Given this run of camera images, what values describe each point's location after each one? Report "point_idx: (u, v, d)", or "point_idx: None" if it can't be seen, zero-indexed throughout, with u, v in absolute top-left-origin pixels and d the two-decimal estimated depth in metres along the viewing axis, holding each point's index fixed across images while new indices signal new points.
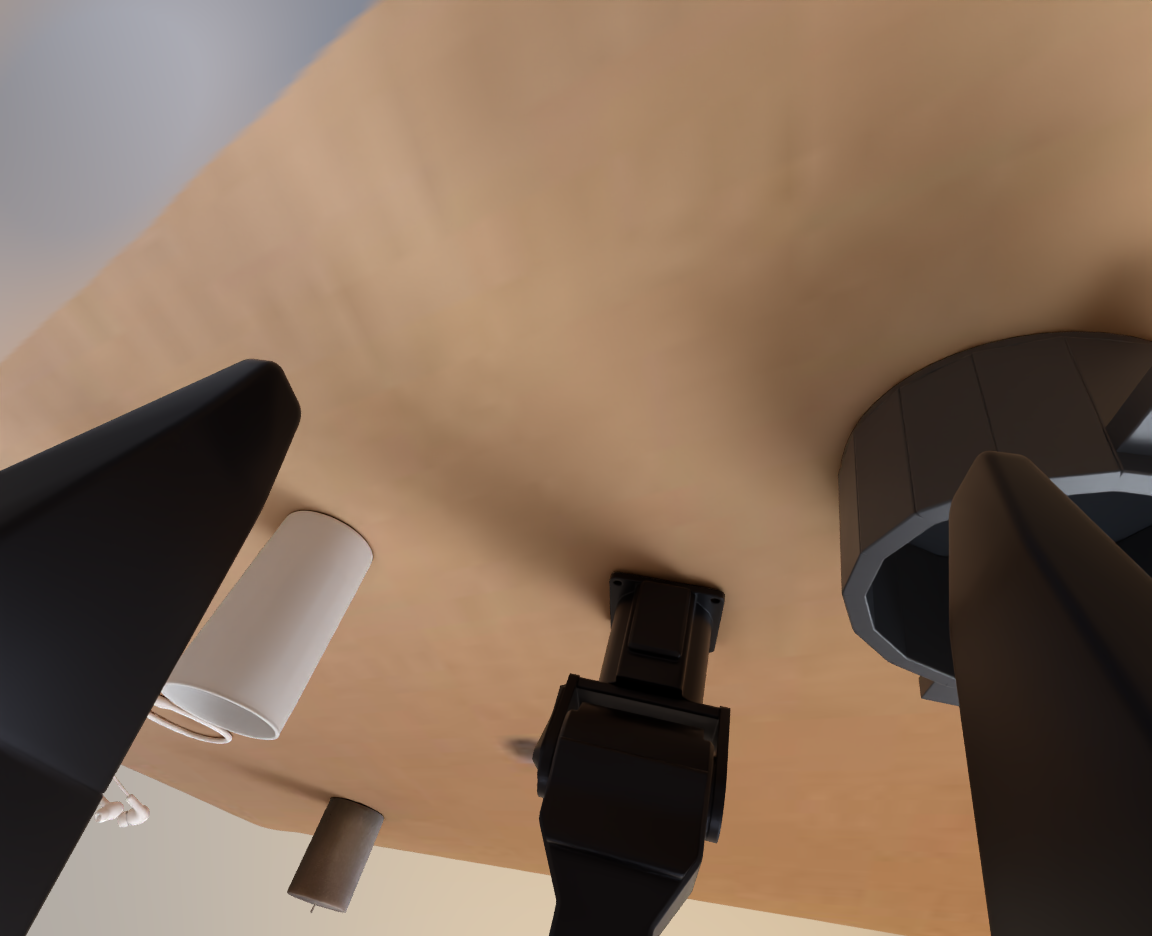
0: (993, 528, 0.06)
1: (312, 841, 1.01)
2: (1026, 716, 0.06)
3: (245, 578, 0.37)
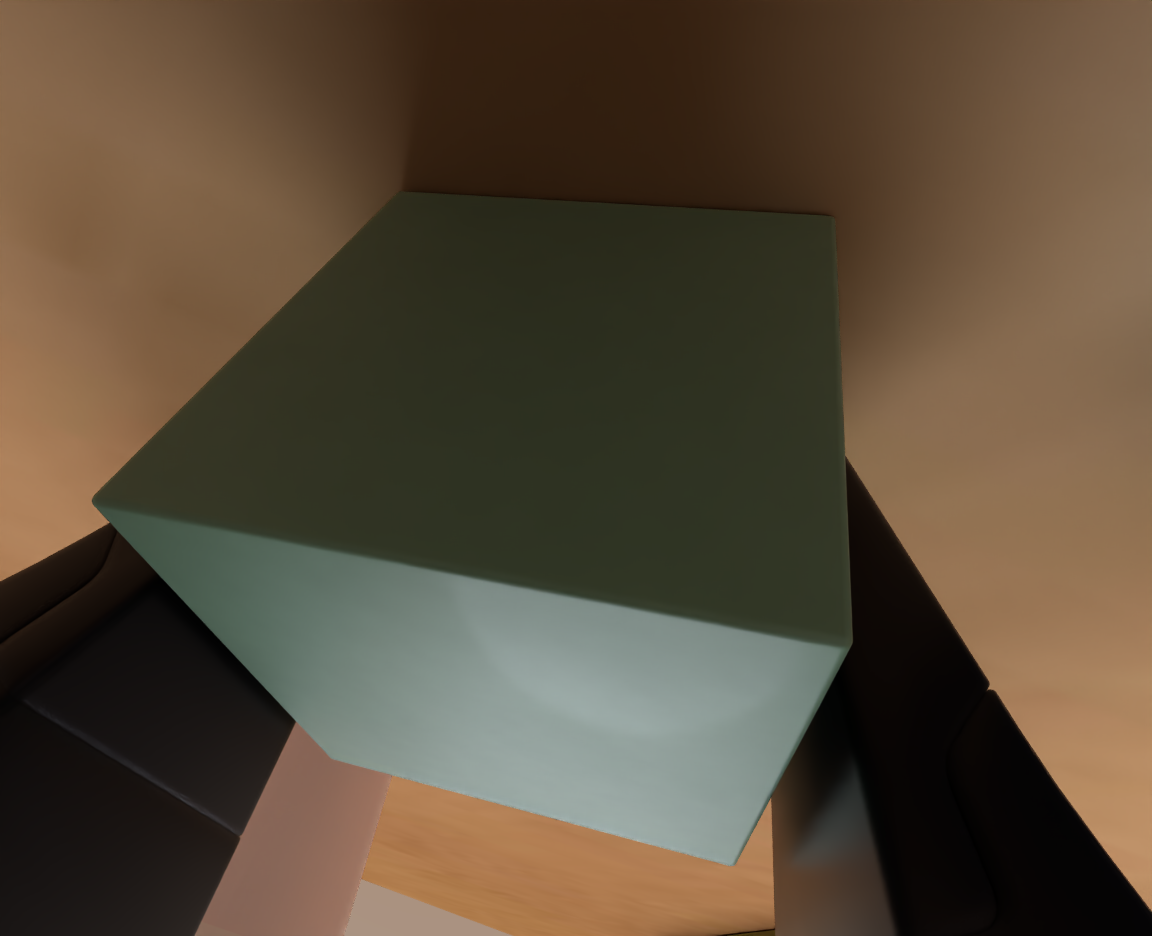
0: None
1: None
2: None
3: None
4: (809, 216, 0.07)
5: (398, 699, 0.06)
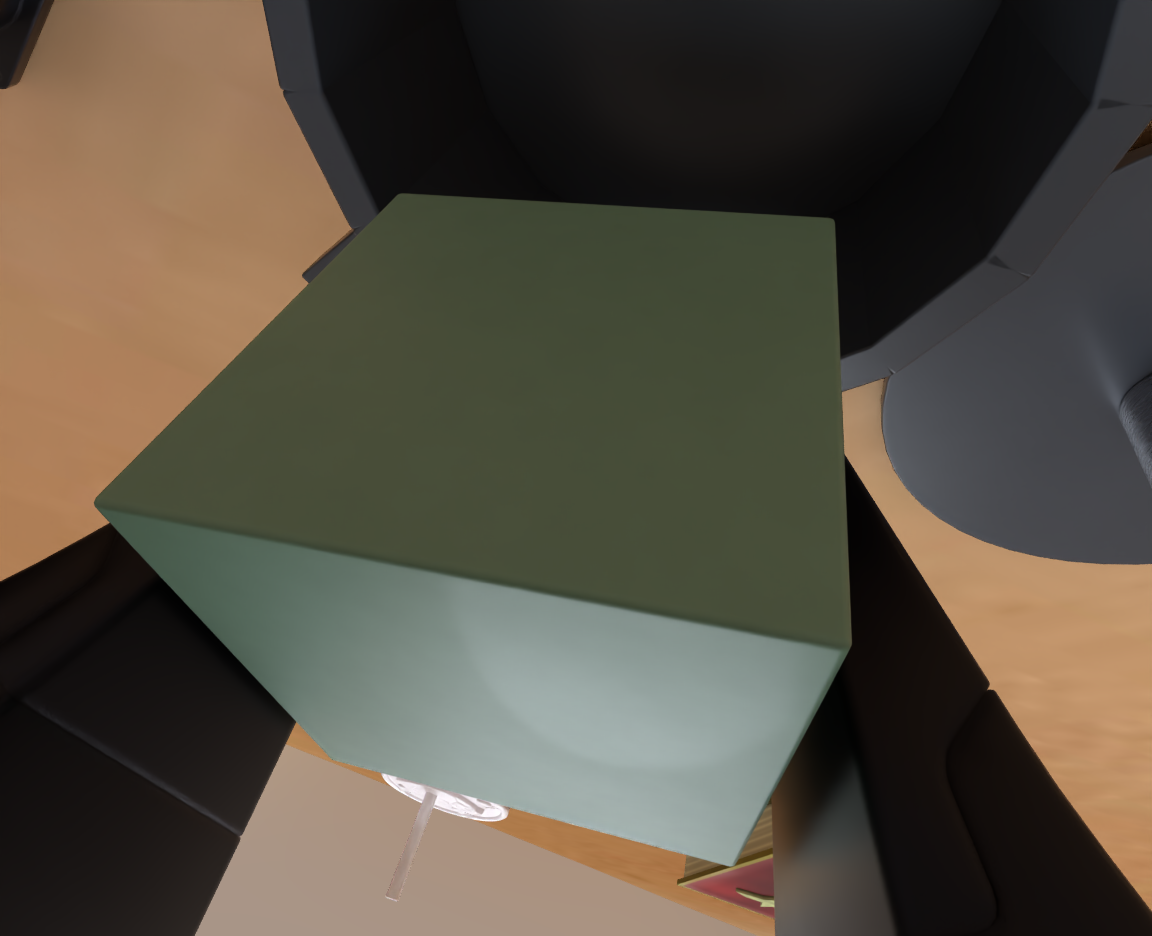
0: None
1: None
2: None
3: None
4: (808, 218, 0.07)
5: (398, 699, 0.06)
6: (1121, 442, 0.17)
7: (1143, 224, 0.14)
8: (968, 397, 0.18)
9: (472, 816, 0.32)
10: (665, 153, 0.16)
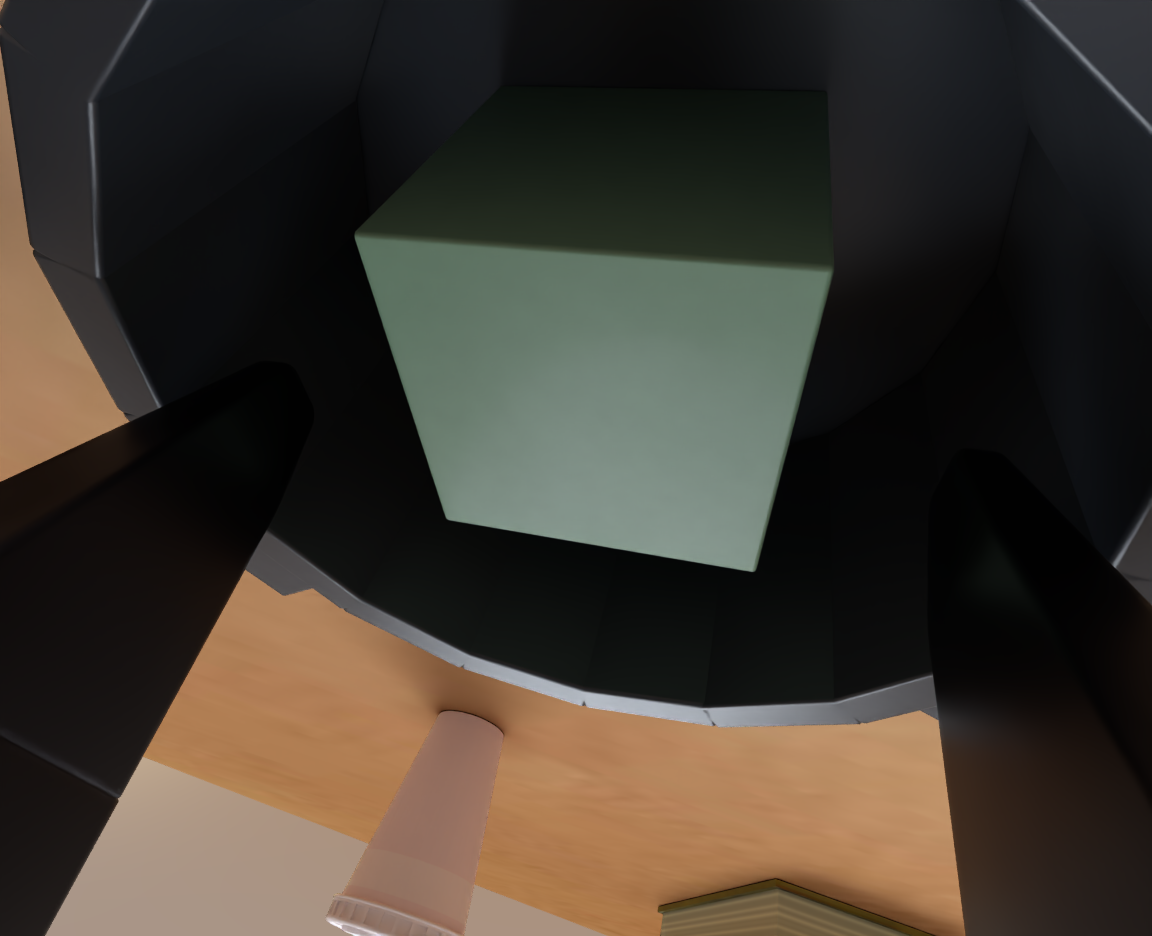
0: (968, 524, 0.06)
1: None
2: (997, 710, 0.06)
3: None
4: (808, 92, 0.09)
5: (524, 413, 0.08)
6: None
7: None
8: None
9: None
10: None
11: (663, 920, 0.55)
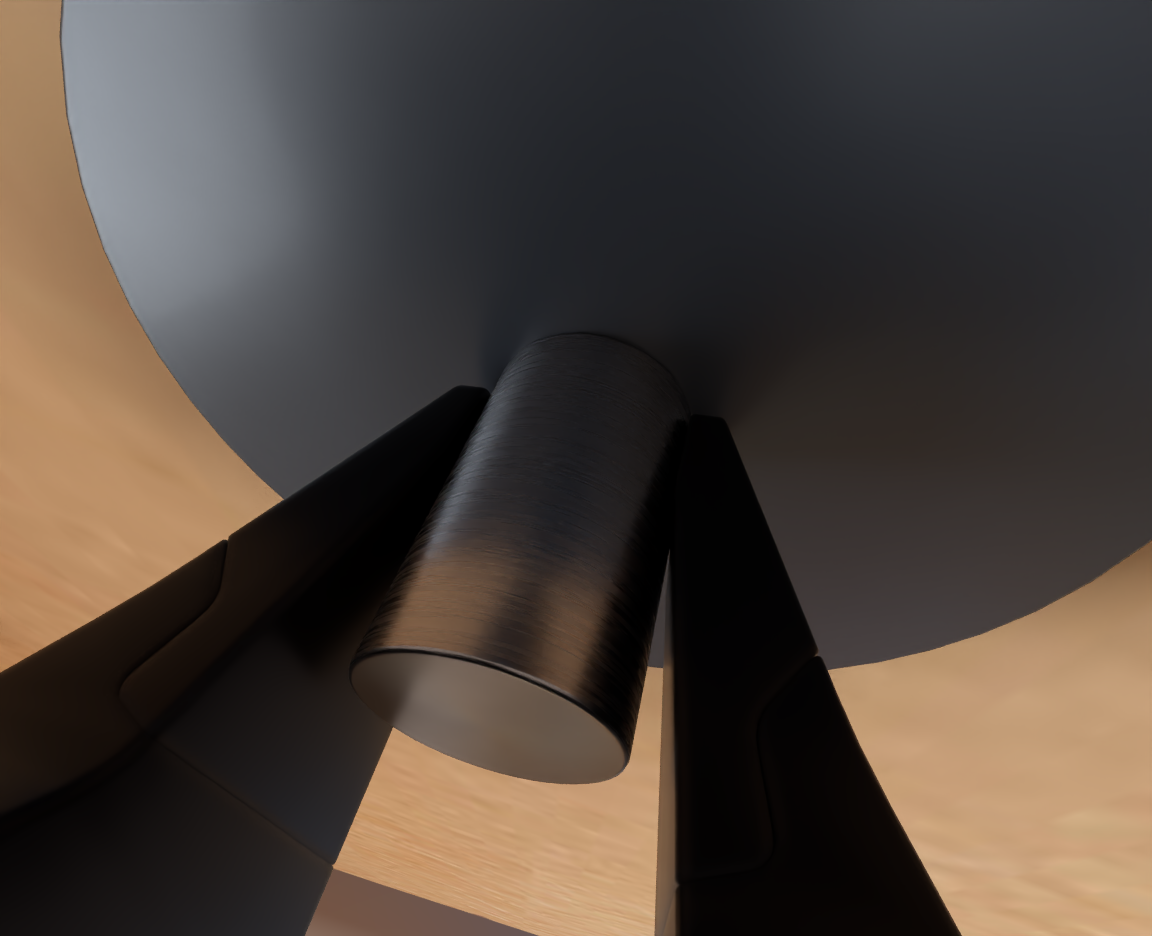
0: None
1: None
2: (668, 644, 0.06)
3: None
4: None
5: None
6: None
7: (1007, 18, 0.05)
8: (349, 28, 0.06)
9: None
10: None
11: None
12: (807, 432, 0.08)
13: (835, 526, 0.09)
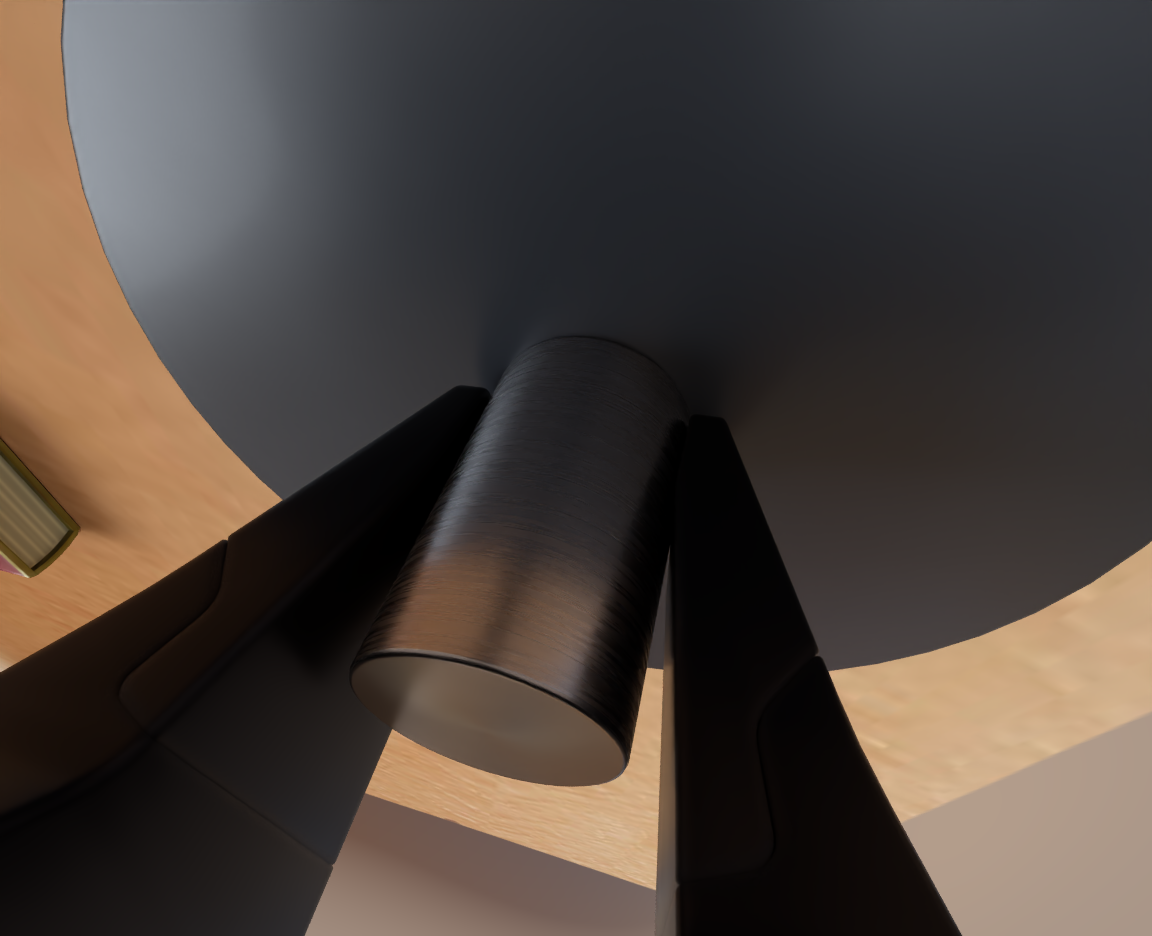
0: None
1: None
2: (669, 644, 0.06)
3: None
4: None
5: None
6: None
7: (1004, 25, 0.05)
8: (350, 34, 0.06)
9: None
10: None
11: None
12: (806, 435, 0.08)
13: (834, 528, 0.09)
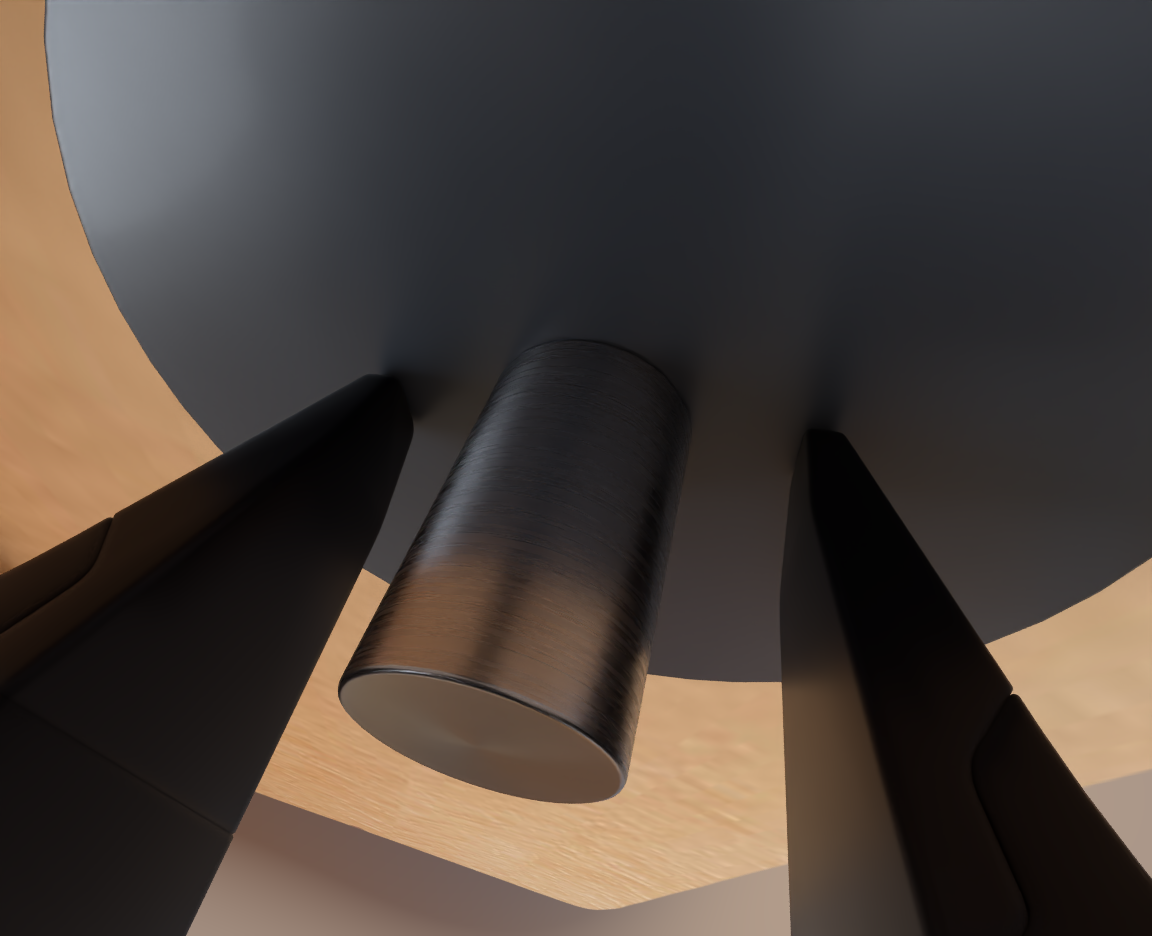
0: (802, 500, 0.07)
1: None
2: (808, 672, 0.06)
3: None
4: None
5: None
6: (467, 402, 0.09)
7: (1016, 18, 0.04)
8: (339, 29, 0.06)
9: None
10: None
11: None
12: None
13: None
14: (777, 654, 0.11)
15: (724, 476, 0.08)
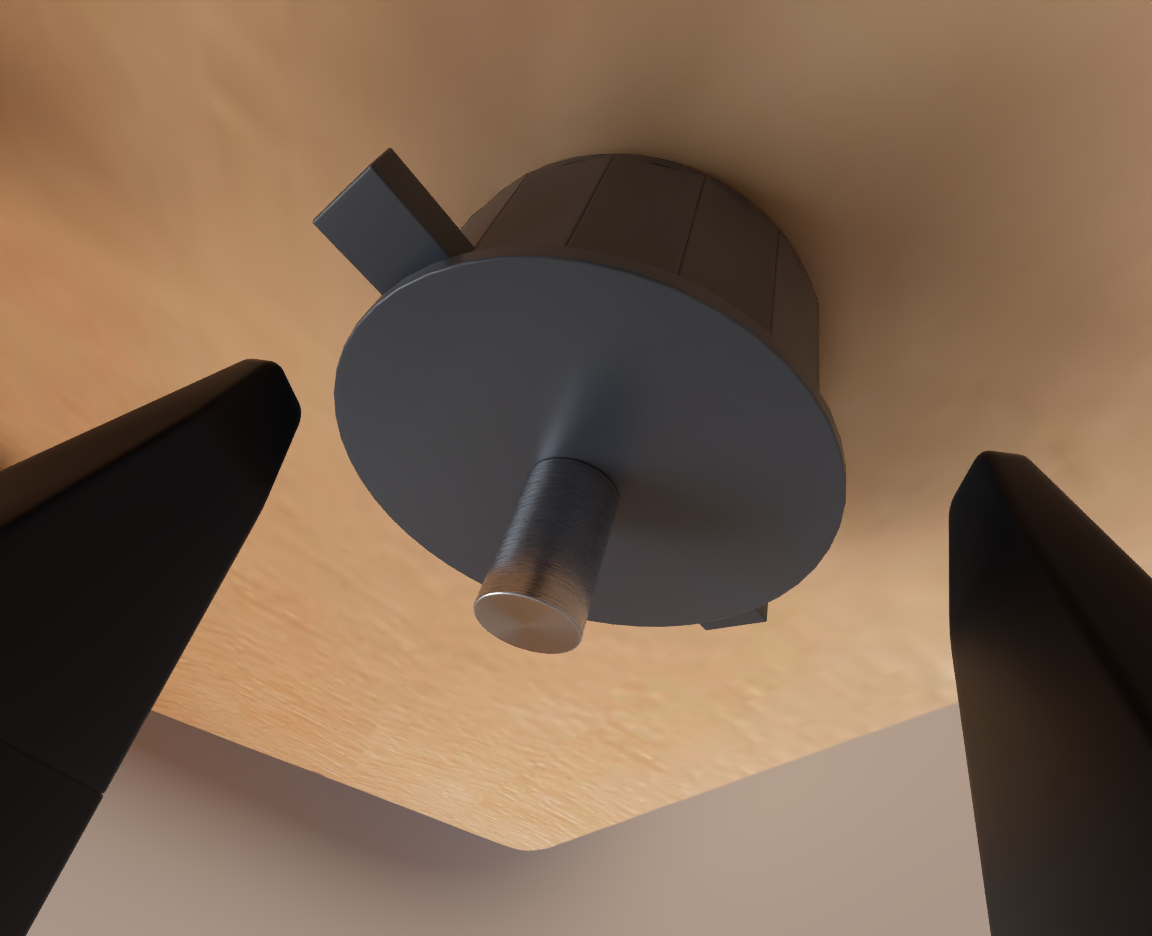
0: (993, 528, 0.06)
1: None
2: (1026, 716, 0.06)
3: None
4: None
5: None
6: (513, 475, 0.18)
7: (724, 394, 0.14)
8: (490, 350, 0.15)
9: None
10: None
11: None
12: (669, 508, 0.17)
13: (685, 550, 0.18)
14: (660, 610, 0.21)
15: (633, 520, 0.18)
